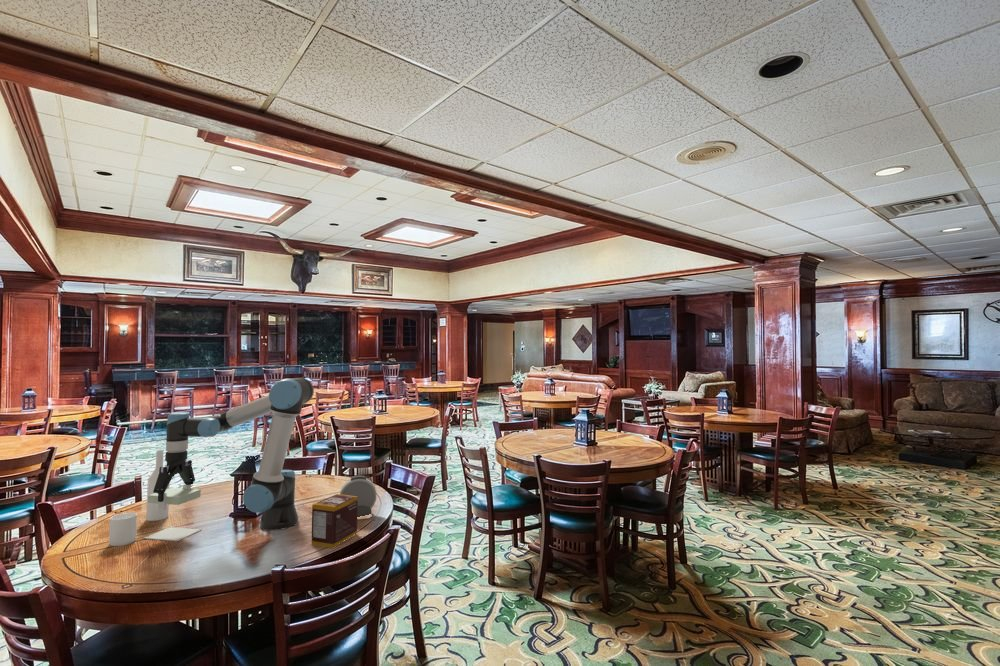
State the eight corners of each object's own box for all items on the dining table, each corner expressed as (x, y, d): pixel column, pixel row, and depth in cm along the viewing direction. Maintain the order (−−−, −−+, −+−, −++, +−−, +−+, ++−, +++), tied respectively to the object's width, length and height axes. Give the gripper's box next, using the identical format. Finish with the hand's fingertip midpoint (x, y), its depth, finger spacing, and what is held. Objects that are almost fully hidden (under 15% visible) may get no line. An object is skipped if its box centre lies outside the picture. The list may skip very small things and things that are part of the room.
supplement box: (357, 534, 196) (358, 495, 197) (333, 548, 182) (333, 507, 182) (336, 531, 199) (337, 493, 200) (310, 545, 185) (311, 504, 186)
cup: (107, 548, 180) (108, 521, 181) (111, 538, 190) (112, 512, 191) (134, 543, 185) (136, 517, 185) (137, 533, 195) (138, 508, 195)
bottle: (147, 522, 208) (149, 453, 209) (145, 517, 214) (147, 450, 215) (169, 518, 213) (172, 450, 215) (167, 513, 219) (169, 448, 221)
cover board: (200, 496, 199) (200, 489, 200) (178, 504, 189) (179, 497, 189) (170, 495, 202) (171, 487, 202) (147, 502, 191) (148, 495, 191)
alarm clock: (375, 511, 225) (375, 472, 226) (376, 518, 215) (377, 477, 216) (339, 514, 220) (339, 474, 221) (338, 522, 210) (339, 480, 211)
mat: (201, 530, 199) (201, 529, 199) (177, 541, 187) (177, 540, 187) (169, 528, 201) (169, 527, 202) (144, 538, 190) (144, 537, 190)
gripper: (191, 445, 208) (188, 496, 207) (143, 456, 185) (140, 513, 184) (206, 445, 207) (204, 497, 206) (160, 457, 184) (157, 514, 183)
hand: (174, 504), depth 195 cm, fingers closed on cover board, 11 cm apart
